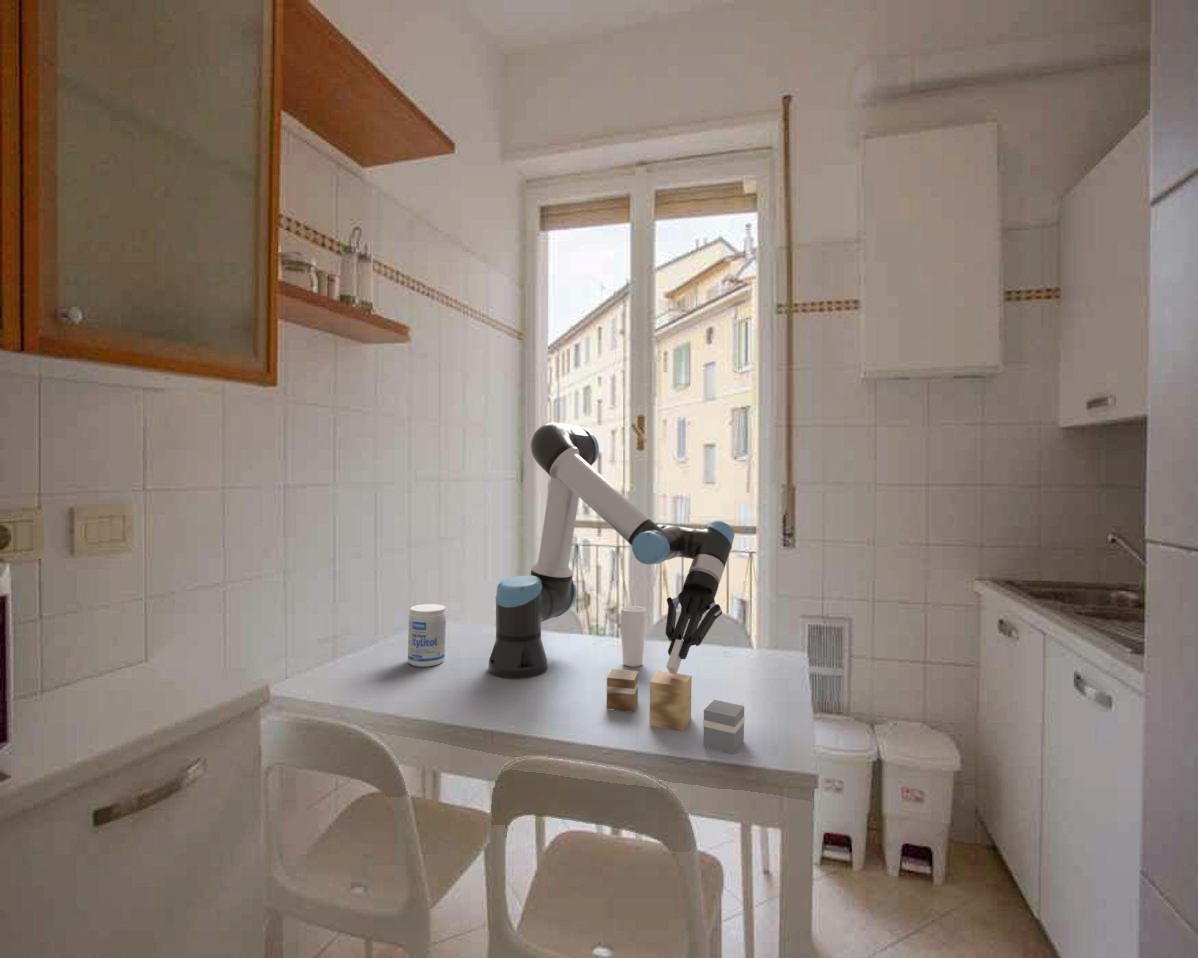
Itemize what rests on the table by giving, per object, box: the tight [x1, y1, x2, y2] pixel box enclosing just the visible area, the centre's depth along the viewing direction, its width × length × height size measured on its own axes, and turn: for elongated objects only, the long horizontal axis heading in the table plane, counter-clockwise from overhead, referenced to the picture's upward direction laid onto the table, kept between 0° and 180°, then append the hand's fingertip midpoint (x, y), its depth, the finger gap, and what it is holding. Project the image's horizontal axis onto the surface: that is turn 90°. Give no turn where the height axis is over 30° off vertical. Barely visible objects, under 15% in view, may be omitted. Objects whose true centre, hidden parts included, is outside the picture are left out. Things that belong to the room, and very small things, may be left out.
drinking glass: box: [620, 605, 647, 668], centre depth 161 cm, size 7×7×15 cm
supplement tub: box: [407, 603, 447, 668], centre depth 160 cm, size 10×10×15 cm
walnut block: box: [606, 668, 639, 713], centre depth 132 cm, size 6×6×7 cm
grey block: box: [702, 699, 745, 755], centre depth 114 cm, size 6×6×7 cm
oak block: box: [649, 671, 693, 732], centre depth 124 cm, size 7×7×9 cm
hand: (671, 670), depth 124 cm, fingers closed
